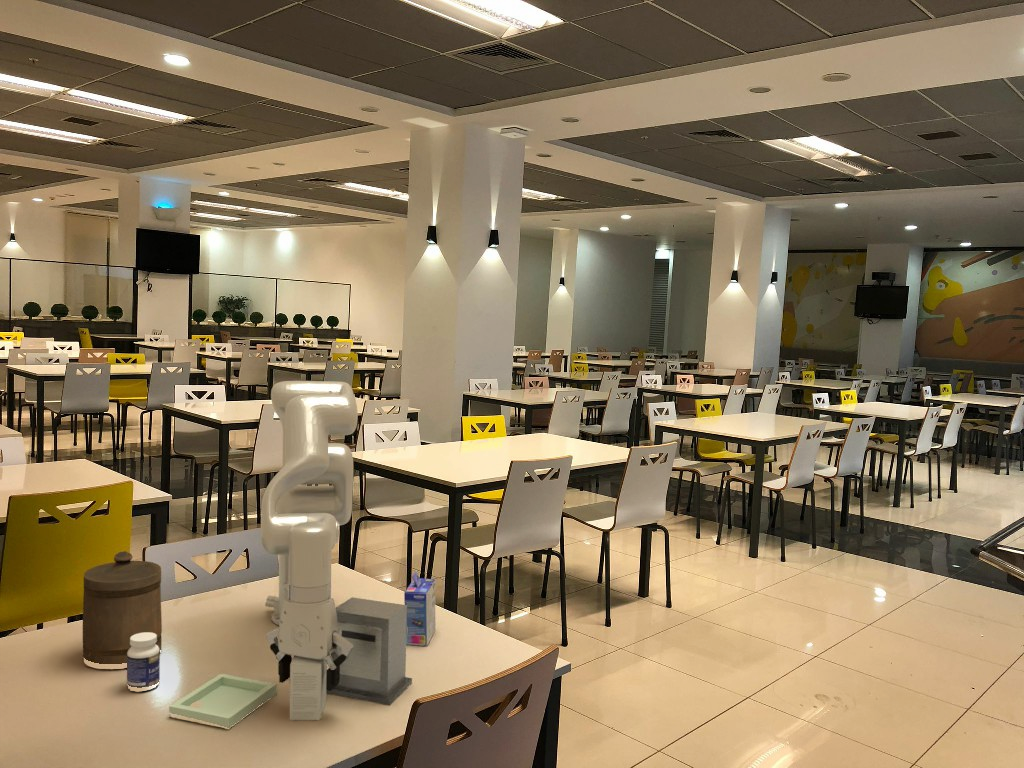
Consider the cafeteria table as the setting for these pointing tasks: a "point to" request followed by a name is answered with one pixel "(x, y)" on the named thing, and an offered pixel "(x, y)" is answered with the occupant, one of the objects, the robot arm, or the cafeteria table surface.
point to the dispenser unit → (373, 650)
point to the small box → (307, 688)
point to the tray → (224, 699)
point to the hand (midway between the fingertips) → (308, 683)
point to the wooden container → (120, 607)
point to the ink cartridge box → (420, 611)
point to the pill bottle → (143, 660)
